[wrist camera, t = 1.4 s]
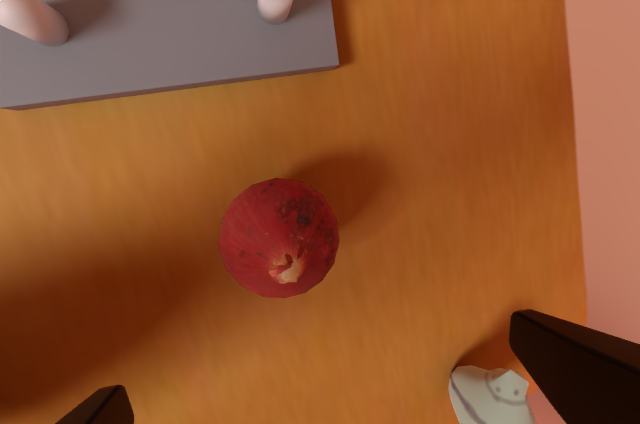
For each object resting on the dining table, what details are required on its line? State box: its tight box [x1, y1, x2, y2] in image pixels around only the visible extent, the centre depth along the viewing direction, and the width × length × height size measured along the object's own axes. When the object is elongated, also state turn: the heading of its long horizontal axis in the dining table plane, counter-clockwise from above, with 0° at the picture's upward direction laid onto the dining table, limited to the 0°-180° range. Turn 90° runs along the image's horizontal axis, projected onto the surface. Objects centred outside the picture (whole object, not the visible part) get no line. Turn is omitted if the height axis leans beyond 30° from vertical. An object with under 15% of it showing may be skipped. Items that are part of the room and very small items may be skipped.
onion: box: [219, 178, 339, 298], centre depth 15 cm, size 6×6×8 cm
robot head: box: [449, 365, 537, 424], centre depth 22 cm, size 8×4×7 cm, turn 162°
